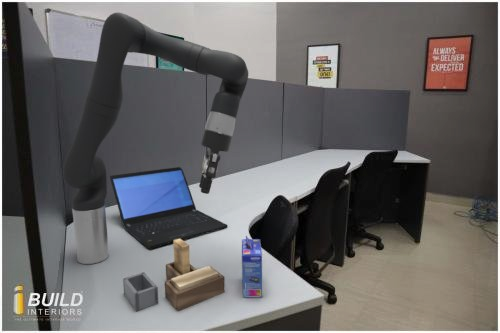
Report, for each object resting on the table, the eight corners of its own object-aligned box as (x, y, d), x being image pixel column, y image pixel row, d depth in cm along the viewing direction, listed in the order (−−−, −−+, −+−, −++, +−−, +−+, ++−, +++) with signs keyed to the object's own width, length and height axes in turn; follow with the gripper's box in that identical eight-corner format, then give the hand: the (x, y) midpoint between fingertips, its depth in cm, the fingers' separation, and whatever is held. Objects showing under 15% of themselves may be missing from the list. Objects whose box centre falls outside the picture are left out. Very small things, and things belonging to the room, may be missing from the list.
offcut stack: (170, 298, 87) (169, 279, 86) (209, 283, 94) (209, 265, 93) (179, 307, 83) (178, 287, 82) (219, 291, 90) (218, 273, 89)
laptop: (148, 252, 113) (145, 196, 109) (112, 220, 141) (108, 175, 137) (228, 228, 134) (228, 181, 130) (183, 205, 162) (181, 165, 158)
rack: (152, 283, 94) (151, 268, 93) (196, 268, 102) (195, 255, 101) (177, 311, 82) (177, 294, 81) (224, 292, 90) (224, 276, 89)
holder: (124, 294, 88) (123, 278, 87) (145, 287, 92) (144, 272, 91) (136, 311, 81) (135, 294, 80) (158, 303, 85) (157, 286, 84)
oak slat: (174, 279, 96) (173, 240, 93) (181, 277, 97) (179, 238, 94) (183, 288, 91) (182, 247, 89) (190, 285, 93) (189, 245, 90)
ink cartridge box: (241, 278, 97) (241, 230, 94) (260, 277, 97) (261, 230, 94) (241, 298, 87) (242, 246, 84) (262, 298, 87) (264, 246, 85)
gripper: (203, 128, 96) (189, 184, 96) (206, 127, 82) (190, 191, 82) (228, 135, 97) (214, 190, 98) (236, 135, 83) (220, 198, 84)
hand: (203, 190), depth 90 cm, fingers open, 8 cm apart
